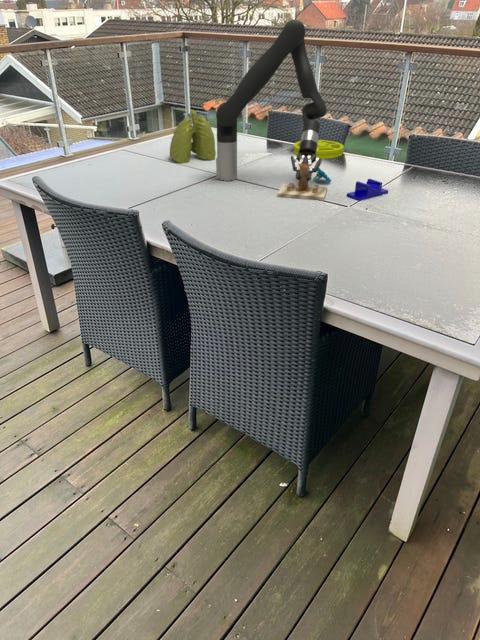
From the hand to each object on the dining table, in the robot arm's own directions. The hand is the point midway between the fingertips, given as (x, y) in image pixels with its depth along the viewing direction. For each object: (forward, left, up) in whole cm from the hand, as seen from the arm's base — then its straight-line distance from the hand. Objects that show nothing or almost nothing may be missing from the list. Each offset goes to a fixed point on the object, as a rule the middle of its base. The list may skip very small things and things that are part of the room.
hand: (302, 179), depth 209 cm
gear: (+6, +22, -7) cm, 24 cm away
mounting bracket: (+28, +7, -7) cm, 29 cm away
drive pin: (0, +2, -4) cm, 5 cm away
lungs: (-66, +47, -7) cm, 81 cm away
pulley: (-2, +78, -7) cm, 78 cm away
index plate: (0, +2, -7) cm, 7 cm away
